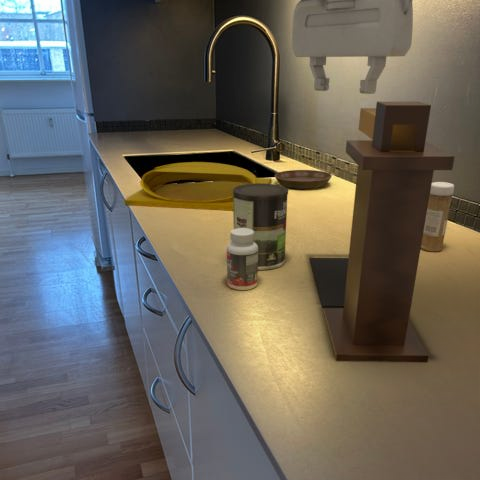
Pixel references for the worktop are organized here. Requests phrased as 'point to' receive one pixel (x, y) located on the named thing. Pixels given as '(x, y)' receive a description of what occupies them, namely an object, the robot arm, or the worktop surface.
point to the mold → (190, 172)
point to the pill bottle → (242, 260)
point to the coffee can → (263, 219)
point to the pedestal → (384, 254)
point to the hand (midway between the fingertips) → (343, 92)
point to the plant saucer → (303, 178)
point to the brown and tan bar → (396, 125)
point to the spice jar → (437, 216)
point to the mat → (330, 280)
